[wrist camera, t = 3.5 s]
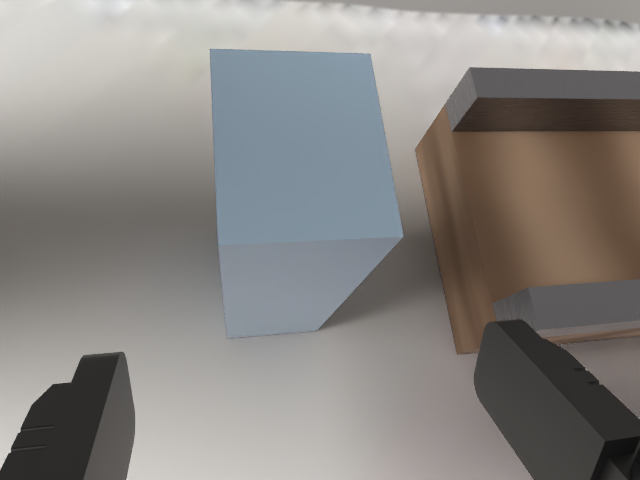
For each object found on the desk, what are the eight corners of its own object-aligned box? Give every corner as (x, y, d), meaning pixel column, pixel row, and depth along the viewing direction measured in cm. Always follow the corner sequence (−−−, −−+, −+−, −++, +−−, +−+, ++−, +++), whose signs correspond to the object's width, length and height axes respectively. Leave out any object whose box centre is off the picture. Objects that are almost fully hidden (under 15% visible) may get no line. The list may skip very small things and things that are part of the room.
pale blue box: (226, 338, 21) (217, 245, 10) (221, 232, 22) (209, 48, 11) (316, 330, 22) (403, 236, 10) (305, 228, 23) (370, 53, 12)
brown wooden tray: (457, 354, 22) (539, 330, 16) (415, 149, 26) (469, 67, 20) (703, 329, 25) (852, 300, 19) (634, 146, 29) (740, 74, 23)
